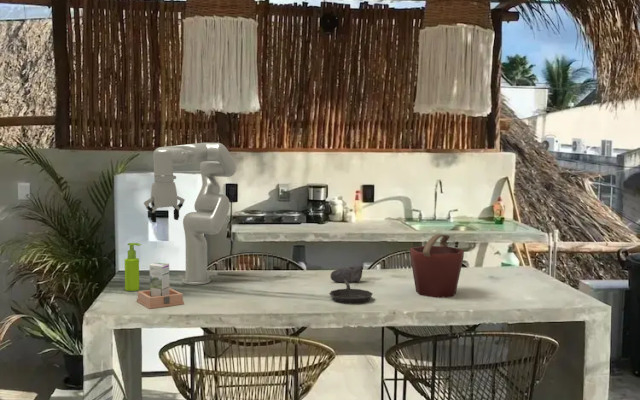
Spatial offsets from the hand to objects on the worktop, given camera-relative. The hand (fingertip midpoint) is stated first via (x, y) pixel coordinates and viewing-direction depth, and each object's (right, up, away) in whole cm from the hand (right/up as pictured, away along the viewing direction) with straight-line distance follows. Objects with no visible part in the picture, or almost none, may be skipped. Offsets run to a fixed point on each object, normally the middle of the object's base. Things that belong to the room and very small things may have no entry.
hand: (165, 220), depth 284 cm
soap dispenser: (-16, -30, +10) cm, 35 cm away
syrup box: (+1, -31, -13) cm, 33 cm away
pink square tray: (+1, -32, -13) cm, 34 cm away
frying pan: (+76, -32, +4) cm, 82 cm away
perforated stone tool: (+76, -29, +30) cm, 87 cm away
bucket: (+114, -31, +10) cm, 118 cm away
